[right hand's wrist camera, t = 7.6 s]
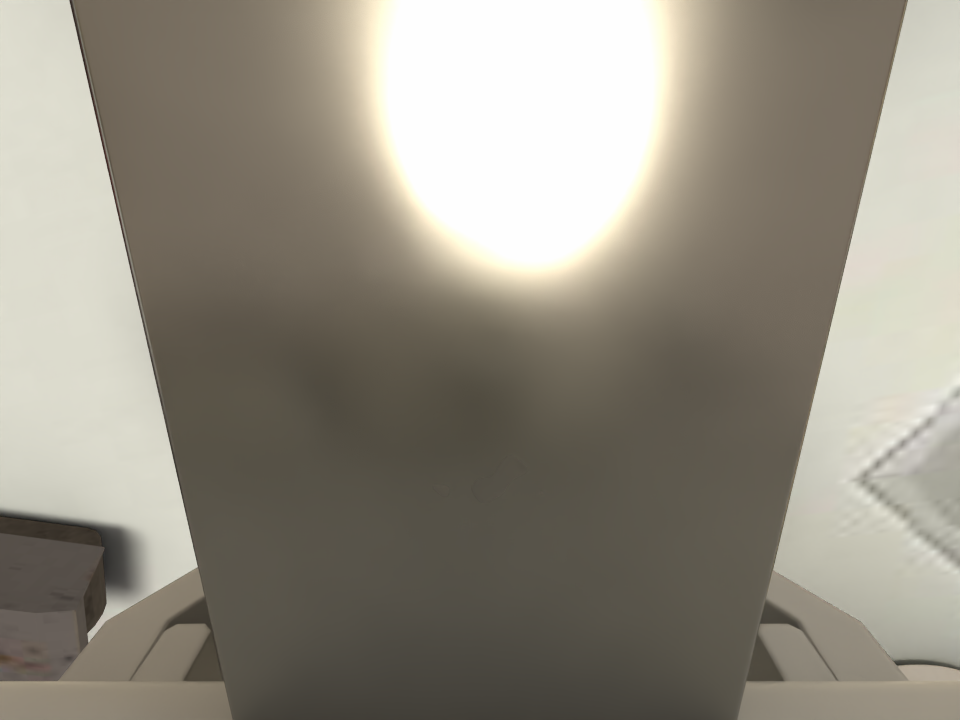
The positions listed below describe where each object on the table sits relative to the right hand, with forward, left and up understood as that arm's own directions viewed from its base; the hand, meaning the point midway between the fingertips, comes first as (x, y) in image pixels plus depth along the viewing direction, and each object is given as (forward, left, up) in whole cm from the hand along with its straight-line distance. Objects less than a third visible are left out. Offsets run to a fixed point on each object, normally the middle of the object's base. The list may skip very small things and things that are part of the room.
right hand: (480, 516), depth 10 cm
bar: (+8, 0, -3) cm, 9 cm away
